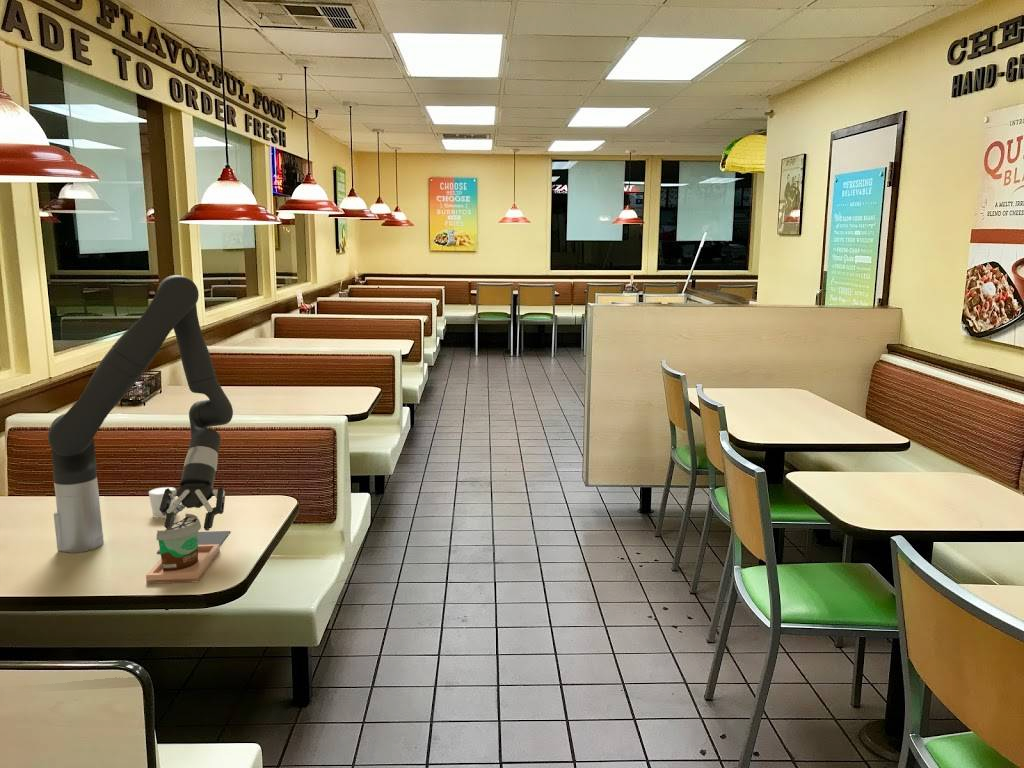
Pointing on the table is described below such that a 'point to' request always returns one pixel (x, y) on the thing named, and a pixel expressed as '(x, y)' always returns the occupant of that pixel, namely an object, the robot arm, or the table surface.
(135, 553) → the table surface
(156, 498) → the white cup
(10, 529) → the table surface
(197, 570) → the dish
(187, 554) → the food container
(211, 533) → the mat
